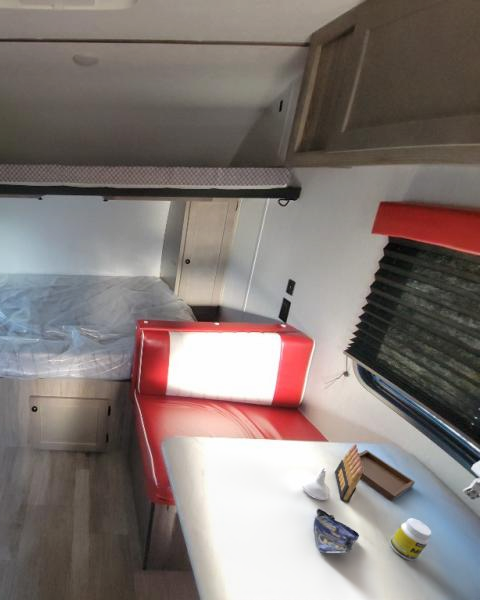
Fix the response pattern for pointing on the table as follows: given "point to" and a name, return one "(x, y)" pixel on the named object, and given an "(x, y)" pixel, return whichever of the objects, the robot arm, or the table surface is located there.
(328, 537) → the snack package
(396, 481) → the tray
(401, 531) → the supplement bottle
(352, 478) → the ammunition clip
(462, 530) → the table surface
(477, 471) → the robot arm
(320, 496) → the white funnel
